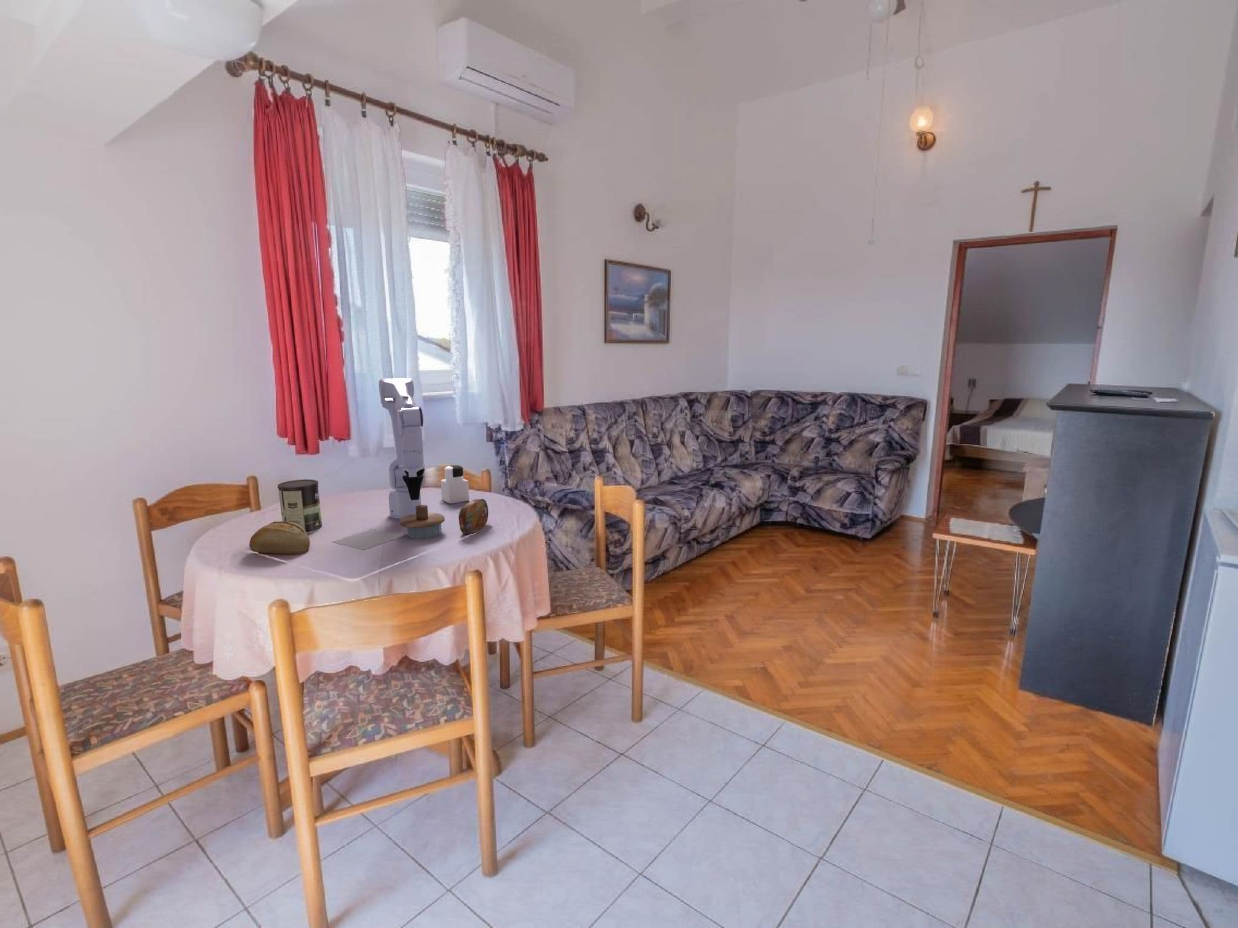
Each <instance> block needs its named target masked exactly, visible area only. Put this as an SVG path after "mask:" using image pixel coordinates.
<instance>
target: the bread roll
mask: <svg viewBox="0 0 1238 928" xmlns="http://www.w3.org/2000/svg"><path fill="white" fill-rule="evenodd" d="M310 548H311V541H310V538H309V535H308V533H306V531H305V530H304V529H303V527H302V526H300V525H299V524H297V523H294V522H289V521H282V520H281V521H273V522H270V523H268V524H267V525H264V526H262V527H261V528H259V529H258V530H257V531H255V533H253V535H251V537H250V539H249V549H250V550H251V551H252V552H254V553H262V554H263V553H264V554H265V553H266V554H280V555H282V554H283V555H299V554H303V553H305V552H308V551H309V549H310Z"/></svg>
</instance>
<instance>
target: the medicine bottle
mask: <svg viewBox="0 0 1238 928" xmlns="http://www.w3.org/2000/svg"><path fill="white" fill-rule="evenodd" d="M469 488H470V485H469V480H468V479H465V478H464V467H463V466H462V465H459V464H458V465H457V464H456V465H455V464H453V465H448V466H446V467H444V479H441V480H440V490H441V491H440V495H441V500H442V501H444V502H446V503H447V504H450V505H451V503H452V504H457V503H458V504H459V503H463V502H469V501H470V489H469Z"/></svg>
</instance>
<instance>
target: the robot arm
mask: <svg viewBox="0 0 1238 928" xmlns="http://www.w3.org/2000/svg"><path fill="white" fill-rule="evenodd" d="M378 390H379V391H378V392H379V396H380V403H381V404H380V405H381V406H382V408H384V409H386V410H387V411H388V413H389V416H390V420H391V426H392V434H393V440H394V441H393V442H394V446H395V447H394V448H395V453H396V458H395V459H394V460H393V461H391V463H390V464H389V466H388V472H389V473H388V475H389V484H390V488H391V490H390V491H389V493H388V507H389V515H387V517H390V518H393V519H394V518H395V519H399V520H400V519H401V518H403V517H405V516H408V515H412V514H416V506H418V505H422V499H421V497H422V496H421V489H422V487H424V485H425V483H426V474H425V469H426V465H425V461H424V445H423V427H424V421H425V420H424V413H423V409H422V407H421V406H418V405H417V403H416V401H415V399H414V396H415V395H414V394H415V385H414V380H413V379H412V378H411V377H406V378H405V377H403V378H401V377H399V378H398V377H395V378H383V377H382V378H381V377H380V379H379V380H378Z"/></svg>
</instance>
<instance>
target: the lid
mask: <svg viewBox="0 0 1238 928" xmlns="http://www.w3.org/2000/svg"><path fill="white" fill-rule="evenodd" d="M428 507H429V506H428V505H427V504H421V505H418V506H416V514H412V515H408V516H405V517H403V518H401V519H399V525H400V526H401V527H405V528H407V527H409V528H423V527H431V526H435V525H438V524H441V525H442V523H444V522H445V520H446V519H445V515H443V514H441V513H437V512H436V513H435V512H429V510H428V509H429V508H428Z"/></svg>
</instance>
